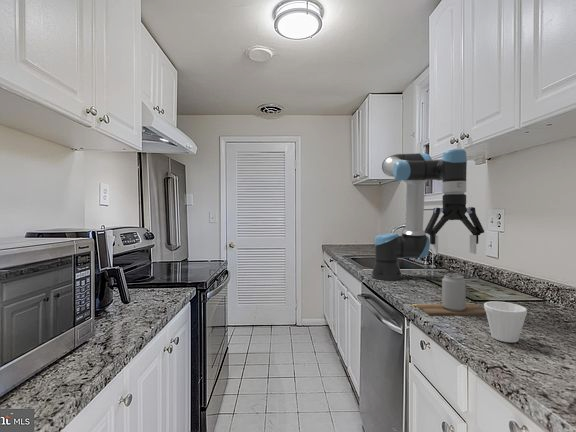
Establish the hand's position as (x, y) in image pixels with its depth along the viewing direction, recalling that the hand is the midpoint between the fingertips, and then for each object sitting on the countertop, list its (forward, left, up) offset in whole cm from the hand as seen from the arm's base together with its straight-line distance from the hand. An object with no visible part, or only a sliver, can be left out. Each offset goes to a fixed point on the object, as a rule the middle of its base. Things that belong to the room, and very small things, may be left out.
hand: (454, 253), depth 113 cm
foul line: (-7, 0, -21) cm, 22 cm away
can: (0, 0, -20) cm, 20 cm away
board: (0, 0, -21) cm, 21 cm away
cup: (+25, +1, -21) cm, 32 cm away
